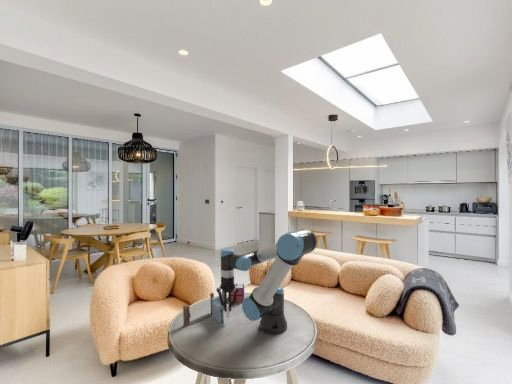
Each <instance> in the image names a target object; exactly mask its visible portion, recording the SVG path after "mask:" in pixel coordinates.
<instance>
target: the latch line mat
mask: <svg viewBox="0 0 512 384" xmlns="http://www.w3.org/2000/svg"><path fill="white" fill-rule="evenodd" d="M210 317H213V315H211V313H209V312H208V313H206V314H204V315H202V316H199V317H197V318H195V319H193V320H190V326H193V325H195V324H198V323H199V322H201V321H203V320H206V319H208V318H210Z"/></svg>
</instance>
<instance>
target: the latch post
mask: <svg viewBox="0 0 512 384" xmlns="http://www.w3.org/2000/svg"><path fill="white" fill-rule="evenodd" d="M182 307H183V310H182V311H183V312H182V313H183V315H182V316H183V327H186V328H187V327H190V326H191V324H190V321H191V320H190V318H191V312H190V305H189V304H187V303H186V304H183V306H182Z"/></svg>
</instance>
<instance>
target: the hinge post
mask: <svg viewBox="0 0 512 384" xmlns="http://www.w3.org/2000/svg"><path fill="white" fill-rule="evenodd" d="M209 295H210V296H209V297H210V314H211V315H212V316H213V314H212V298H215V297H214V296H215V294H214V292H211V293H210V294H209Z"/></svg>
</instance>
